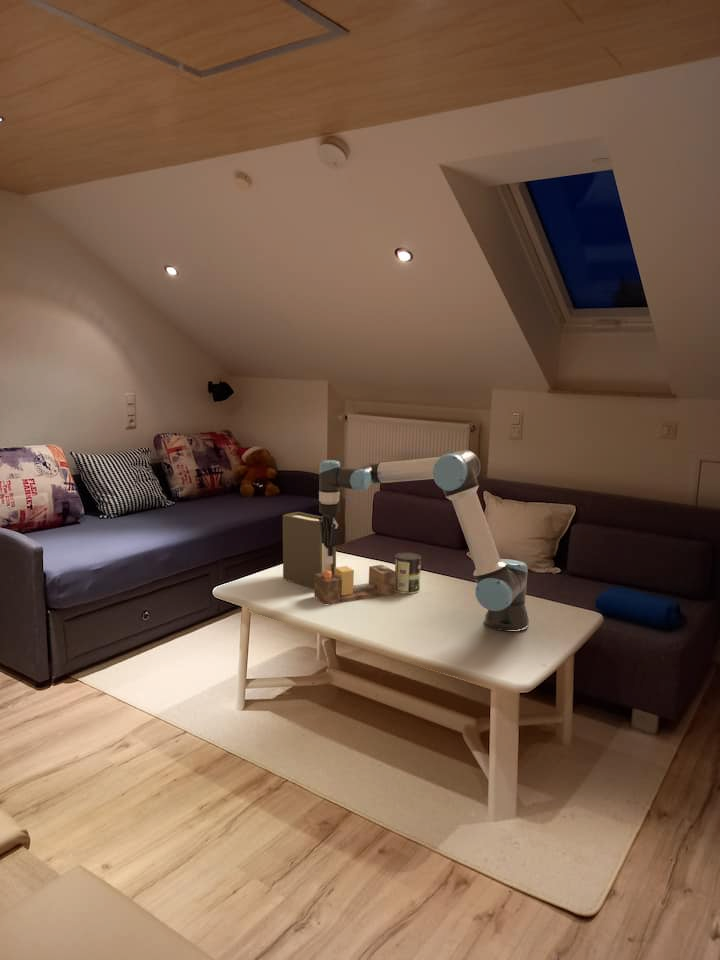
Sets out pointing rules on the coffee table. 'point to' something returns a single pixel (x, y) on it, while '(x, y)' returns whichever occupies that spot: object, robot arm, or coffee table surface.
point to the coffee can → (407, 573)
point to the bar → (364, 587)
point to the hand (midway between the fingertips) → (328, 563)
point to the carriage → (345, 579)
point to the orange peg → (327, 574)
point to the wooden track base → (331, 592)
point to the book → (304, 549)
